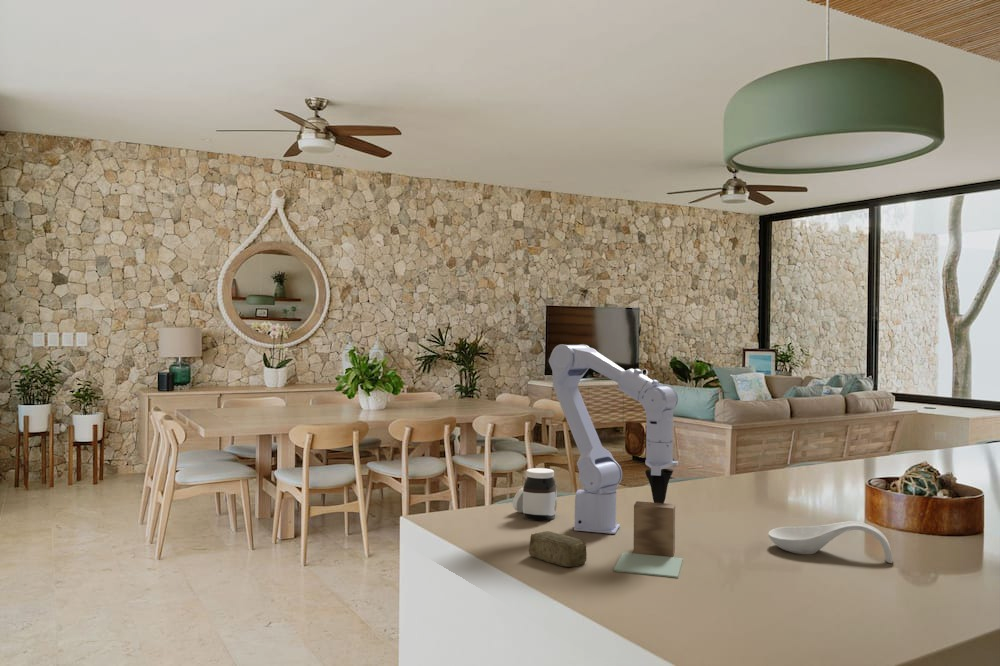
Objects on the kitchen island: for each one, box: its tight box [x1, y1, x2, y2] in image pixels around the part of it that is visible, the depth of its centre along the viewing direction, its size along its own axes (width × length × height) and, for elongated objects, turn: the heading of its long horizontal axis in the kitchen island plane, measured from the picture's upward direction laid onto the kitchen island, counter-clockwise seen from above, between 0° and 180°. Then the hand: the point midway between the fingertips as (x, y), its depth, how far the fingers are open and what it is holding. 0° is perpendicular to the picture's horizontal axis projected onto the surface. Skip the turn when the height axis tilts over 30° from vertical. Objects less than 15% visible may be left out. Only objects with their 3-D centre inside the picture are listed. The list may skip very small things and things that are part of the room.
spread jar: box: [512, 467, 558, 522], centre depth 185 cm, size 12×11×12 cm
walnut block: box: [633, 501, 676, 557], centre depth 154 cm, size 8×4×10 cm, turn 72°
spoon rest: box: [767, 520, 894, 564], centre depth 155 cm, size 24×12×7 cm, turn 66°
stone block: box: [528, 530, 588, 568], centre depth 148 cm, size 6×12×5 cm, turn 44°
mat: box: [613, 552, 684, 579], centre depth 145 cm, size 12×12×1 cm
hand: (659, 503), depth 162 cm, fingers closed
